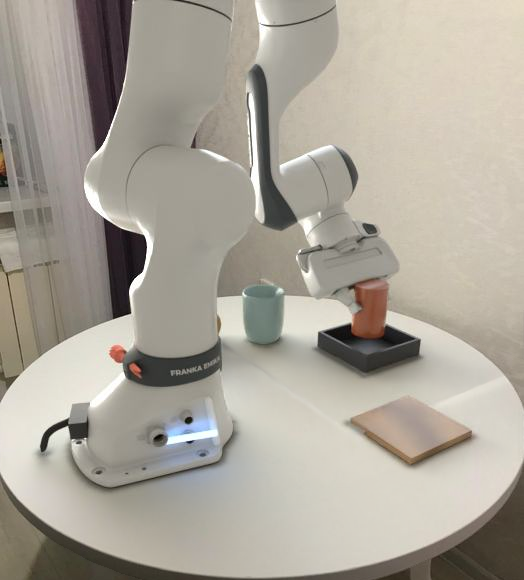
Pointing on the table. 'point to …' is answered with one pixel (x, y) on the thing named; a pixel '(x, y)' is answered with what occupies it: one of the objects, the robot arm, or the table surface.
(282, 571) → the table surface
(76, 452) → the robot arm
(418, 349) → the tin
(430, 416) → the board
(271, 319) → the cup
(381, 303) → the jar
